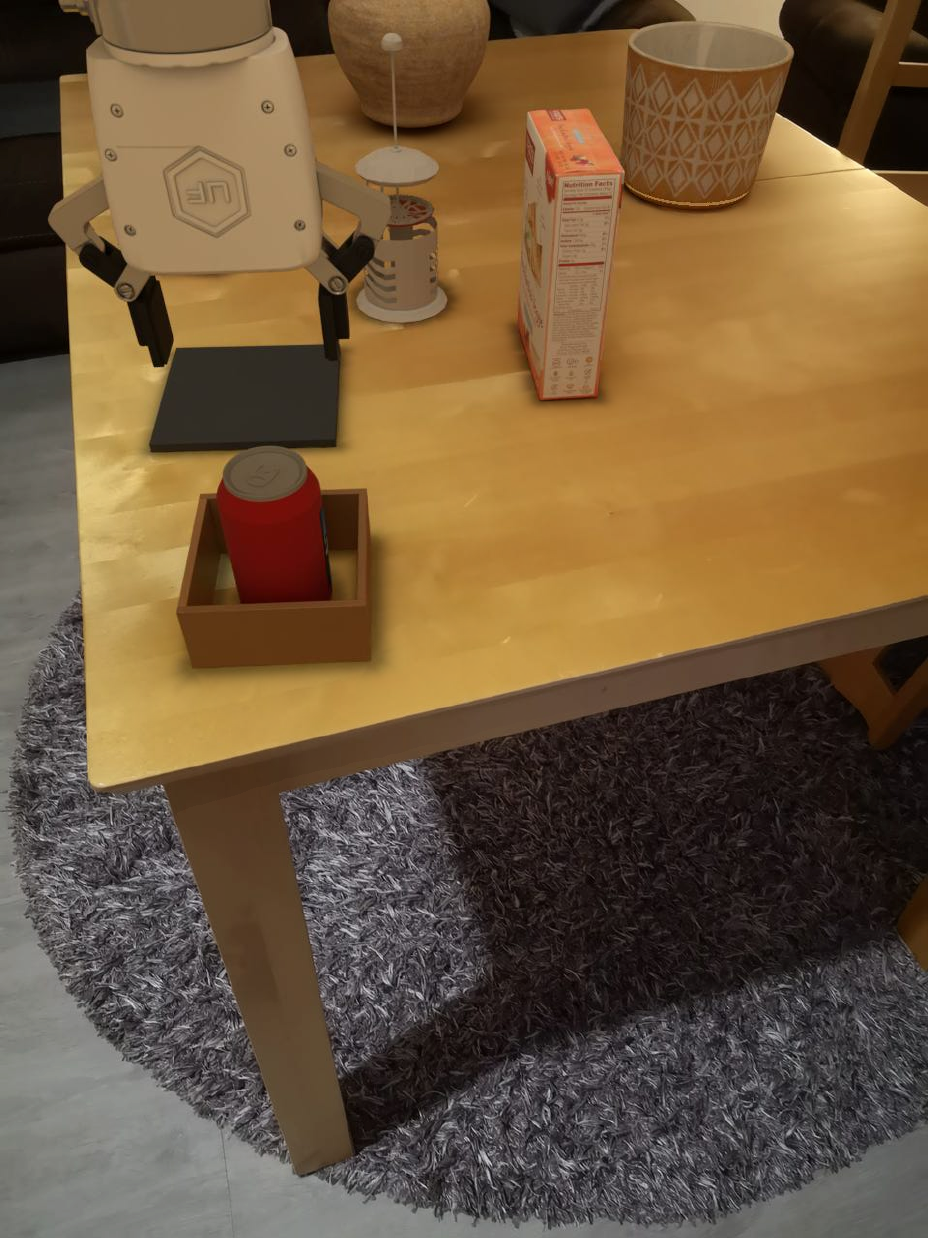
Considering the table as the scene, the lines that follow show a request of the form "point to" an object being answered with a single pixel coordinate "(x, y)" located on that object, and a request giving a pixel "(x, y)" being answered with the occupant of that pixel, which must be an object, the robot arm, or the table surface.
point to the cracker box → (567, 249)
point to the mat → (248, 399)
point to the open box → (276, 626)
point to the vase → (410, 55)
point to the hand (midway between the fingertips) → (249, 351)
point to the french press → (402, 232)
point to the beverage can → (274, 527)
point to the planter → (699, 109)
